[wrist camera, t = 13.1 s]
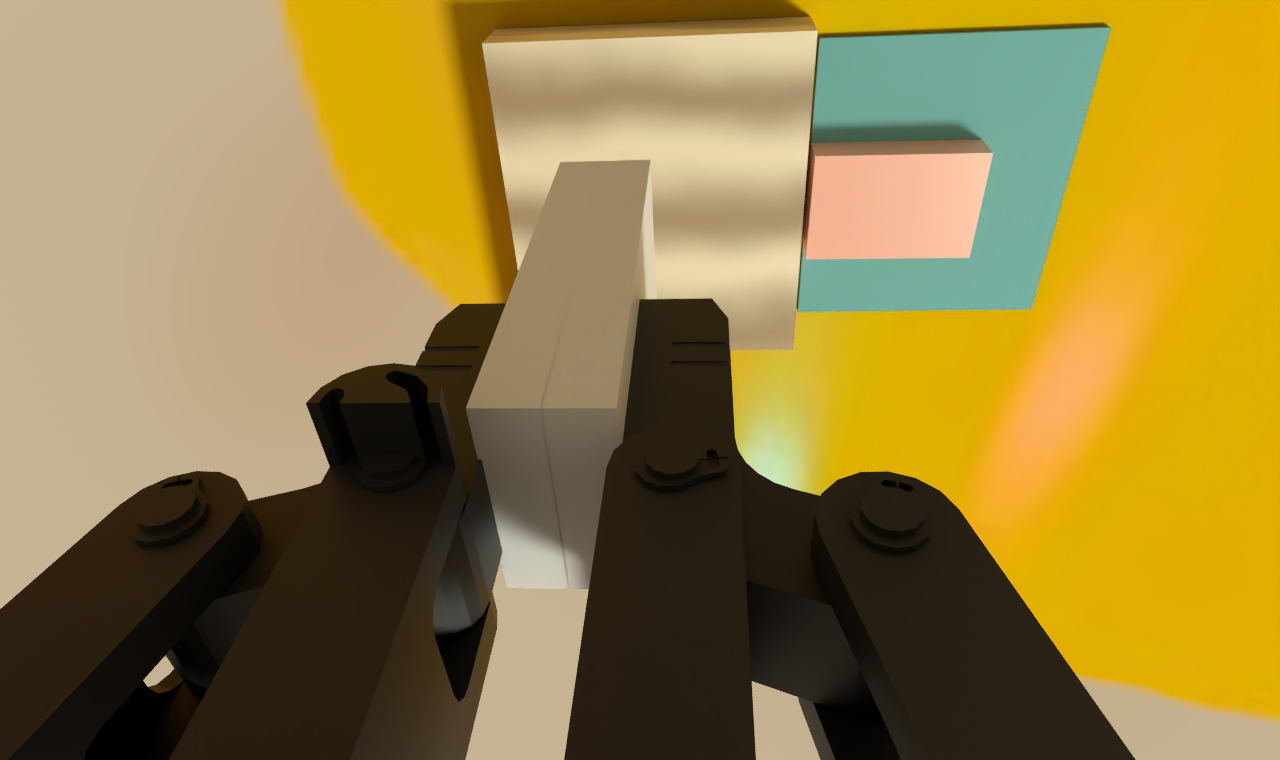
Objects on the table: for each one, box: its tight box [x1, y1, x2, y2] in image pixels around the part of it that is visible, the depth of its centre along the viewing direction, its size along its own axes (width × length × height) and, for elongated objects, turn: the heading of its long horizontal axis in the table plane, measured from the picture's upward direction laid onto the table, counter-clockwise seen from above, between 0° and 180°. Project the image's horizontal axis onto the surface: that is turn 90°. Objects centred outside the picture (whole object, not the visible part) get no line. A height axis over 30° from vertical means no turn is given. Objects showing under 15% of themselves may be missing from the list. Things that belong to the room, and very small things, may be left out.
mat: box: [798, 26, 1111, 312], centre depth 44 cm, size 16×14×1 cm
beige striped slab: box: [482, 16, 818, 350], centre depth 44 cm, size 18×16×3 cm
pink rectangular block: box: [802, 139, 993, 259], centre depth 43 cm, size 9×6×2 cm, turn 92°
